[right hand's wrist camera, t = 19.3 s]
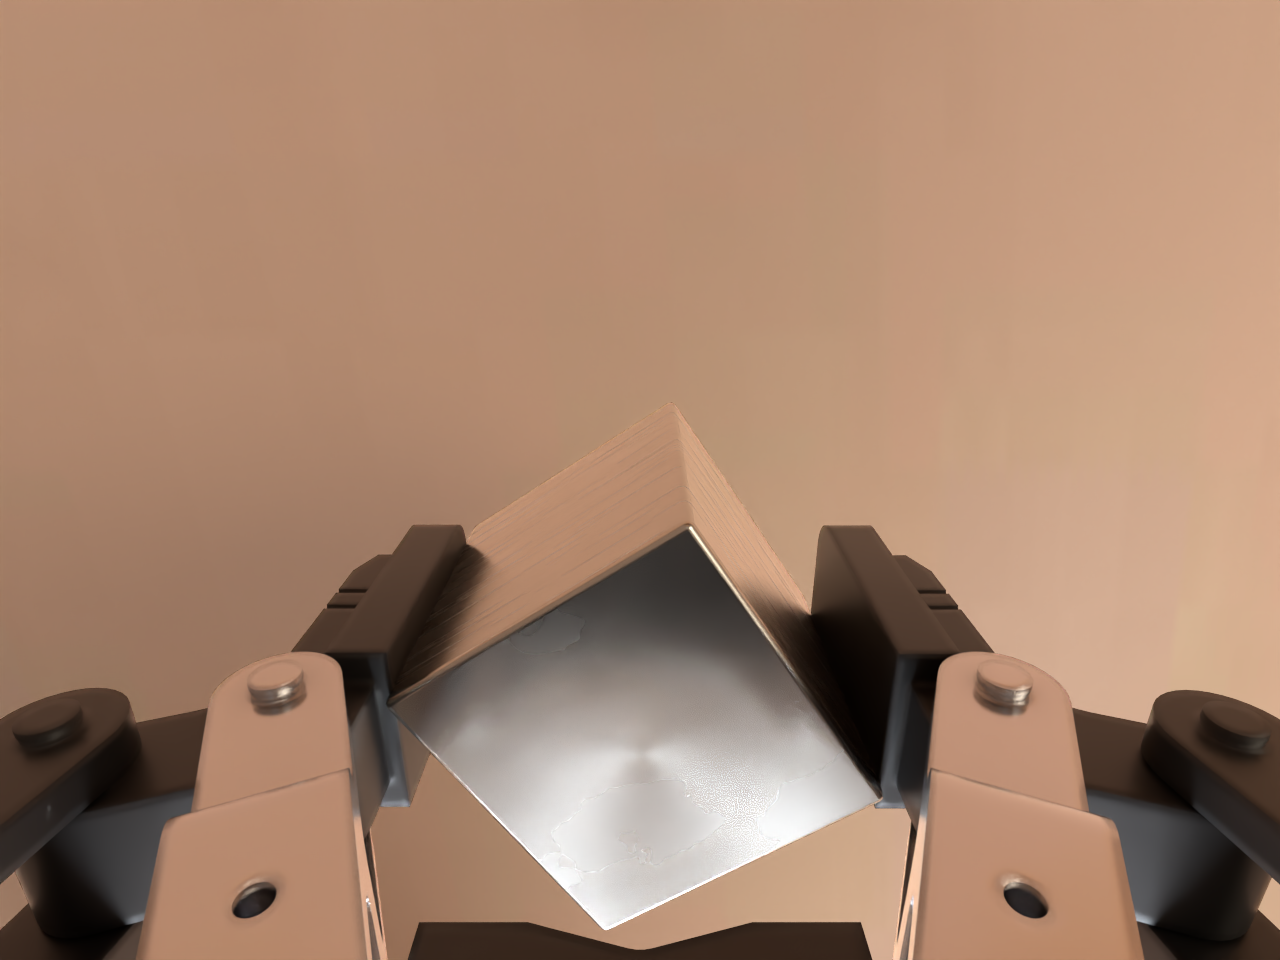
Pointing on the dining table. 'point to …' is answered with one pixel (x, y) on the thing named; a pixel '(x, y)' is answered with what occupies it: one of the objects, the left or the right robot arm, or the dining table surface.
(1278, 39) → the dining table surface
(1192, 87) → the dining table surface
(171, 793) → the right robot arm
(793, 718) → the block
